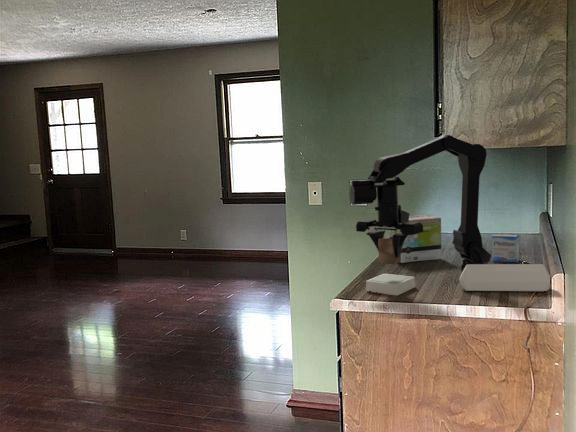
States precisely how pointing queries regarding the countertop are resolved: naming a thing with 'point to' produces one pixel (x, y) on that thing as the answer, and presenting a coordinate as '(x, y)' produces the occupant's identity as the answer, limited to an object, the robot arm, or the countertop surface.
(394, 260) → the walnut block
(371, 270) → the countertop surface
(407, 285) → the base slab
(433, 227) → the tea box
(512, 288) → the crystal
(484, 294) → the countertop surface
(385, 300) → the countertop surface
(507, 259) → the medicine box
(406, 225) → the robot arm
